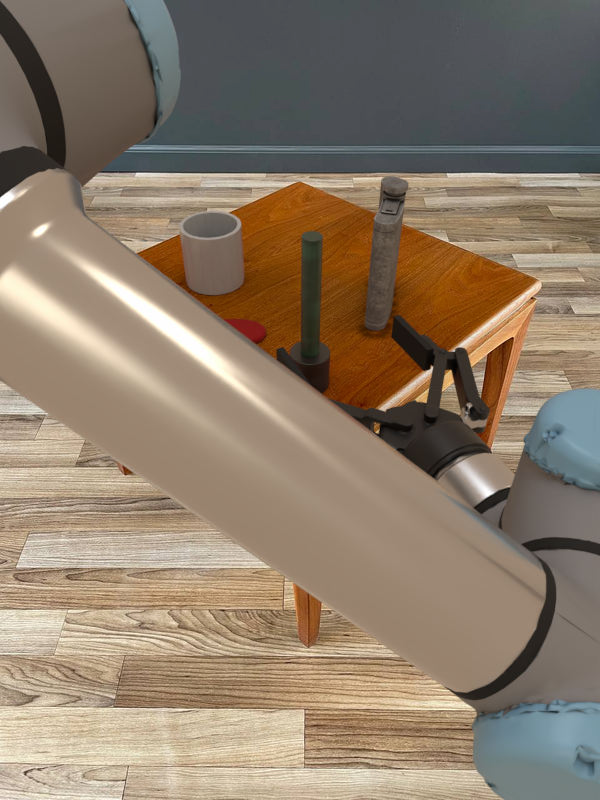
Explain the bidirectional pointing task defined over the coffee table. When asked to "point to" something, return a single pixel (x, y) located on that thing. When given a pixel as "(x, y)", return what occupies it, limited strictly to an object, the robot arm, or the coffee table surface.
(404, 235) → the coffee table surface
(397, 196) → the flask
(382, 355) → the coffee table surface
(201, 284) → the canister
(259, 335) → the lollipop
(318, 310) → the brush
